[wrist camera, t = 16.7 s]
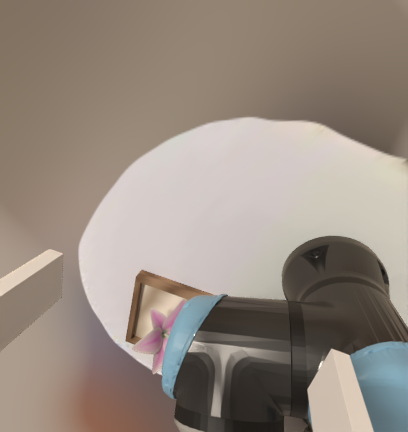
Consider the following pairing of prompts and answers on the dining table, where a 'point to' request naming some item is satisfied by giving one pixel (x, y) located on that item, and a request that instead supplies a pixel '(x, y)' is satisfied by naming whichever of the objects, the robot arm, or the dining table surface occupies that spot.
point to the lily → (158, 335)
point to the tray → (154, 302)
